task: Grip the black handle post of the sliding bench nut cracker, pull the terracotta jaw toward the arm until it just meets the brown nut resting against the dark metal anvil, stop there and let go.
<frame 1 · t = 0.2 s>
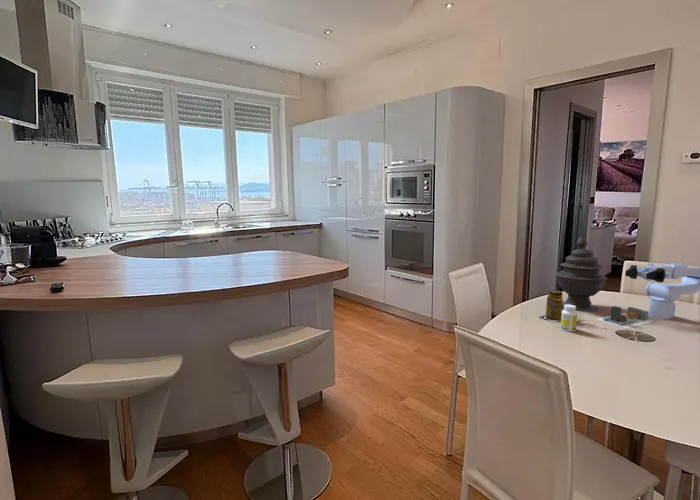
hand: (636, 274, 151), 21 cm above the table, tool horizontal, fingers open, 7 cm apart
nut: (632, 318, 160), point 1 cm above the table, touching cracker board
condiment: (551, 318, 164), on the table
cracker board: (625, 323, 158), on the table
carriage: (617, 314, 155), point 5 cm above the table, slide at 0.0 cm
supplement bottle: (568, 330, 151), on the table
decorative urn: (577, 309, 177), on the table
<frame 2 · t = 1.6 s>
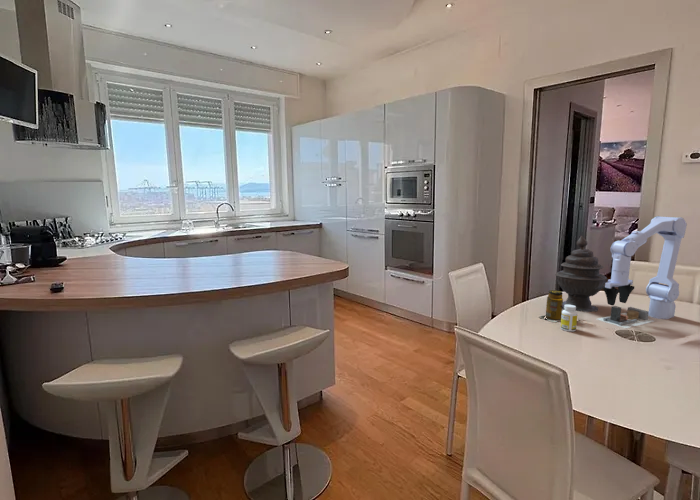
hand: (616, 303, 154), 9 cm above the table, tool pointing down, fingers open, 7 cm apart
nothing on the table moved.
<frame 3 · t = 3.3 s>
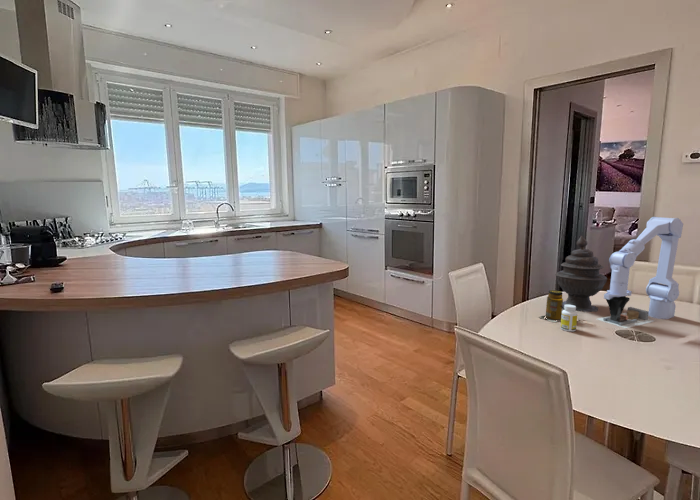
hand: (615, 314, 154), 5 cm above the table, tool pointing down, fingers closed on carriage, 2 cm apart
carriage: (617, 314, 155), point 5 cm above the table, slide at 0.0 cm, touching gripper
everything else where it was.
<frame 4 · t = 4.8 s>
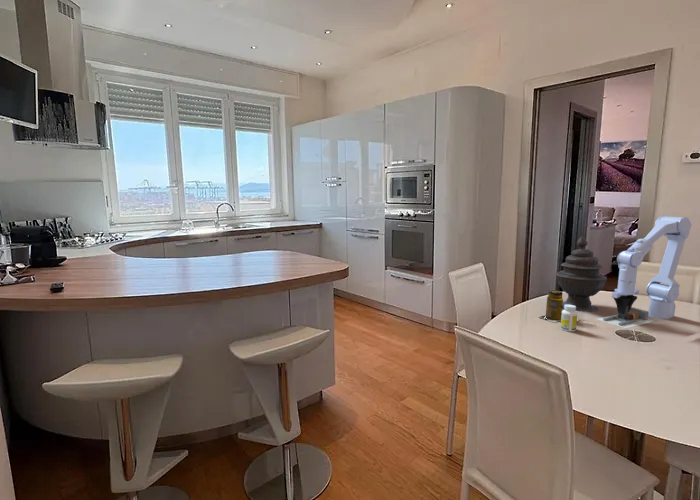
hand: (623, 312, 156), 5 cm above the table, tool pointing down, fingers closed on carriage, 2 cm apart
carriage: (625, 312, 157), point 5 cm above the table, slide at 5.0 cm, touching gripper
everything else where it was.
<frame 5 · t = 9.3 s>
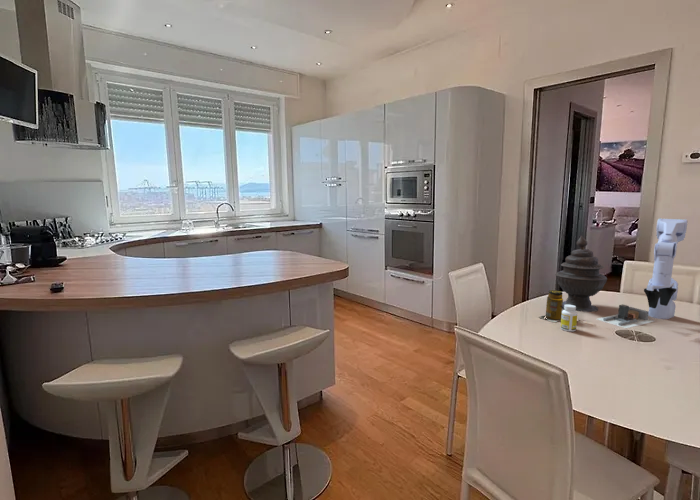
hand: (658, 306, 150), 9 cm above the table, tool pointing down, fingers open, 7 cm apart
carriage: (625, 312, 157), point 5 cm above the table, slide at 5.0 cm
everything else where it was.
at the end: carriage slide at 5.0 cm; nut moved 0.0 cm from its start; the gripper is holding nothing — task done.
